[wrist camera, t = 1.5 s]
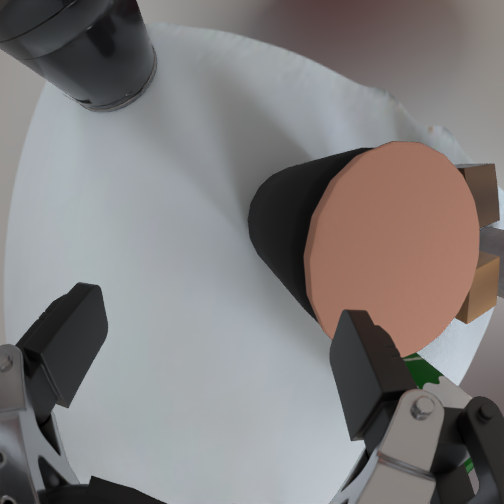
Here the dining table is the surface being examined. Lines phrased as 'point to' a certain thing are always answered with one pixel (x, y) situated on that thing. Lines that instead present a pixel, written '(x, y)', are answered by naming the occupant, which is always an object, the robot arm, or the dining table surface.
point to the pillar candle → (494, 250)
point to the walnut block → (482, 190)
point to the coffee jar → (372, 238)
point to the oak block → (481, 288)
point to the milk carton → (437, 387)
